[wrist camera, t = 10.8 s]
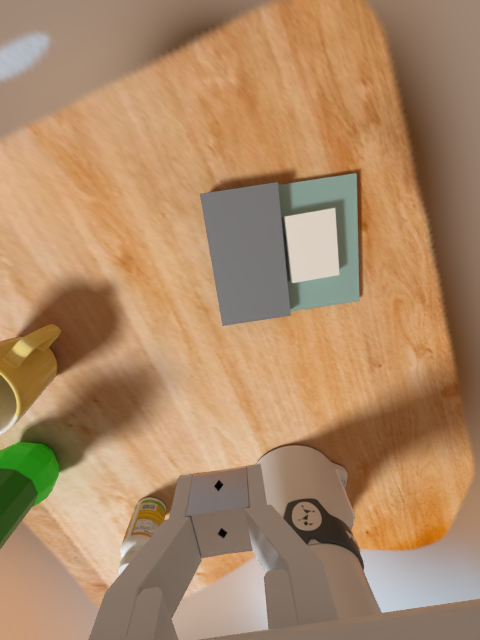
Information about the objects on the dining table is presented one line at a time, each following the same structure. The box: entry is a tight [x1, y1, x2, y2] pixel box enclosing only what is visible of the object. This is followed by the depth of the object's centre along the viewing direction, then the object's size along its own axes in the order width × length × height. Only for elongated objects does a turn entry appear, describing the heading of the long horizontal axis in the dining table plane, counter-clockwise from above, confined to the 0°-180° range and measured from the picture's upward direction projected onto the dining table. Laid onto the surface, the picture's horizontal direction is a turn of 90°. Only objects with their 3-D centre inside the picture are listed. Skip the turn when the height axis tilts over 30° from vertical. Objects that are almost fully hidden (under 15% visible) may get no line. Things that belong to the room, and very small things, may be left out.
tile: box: [282, 208, 339, 283], centre depth 34 cm, size 8×6×2 cm
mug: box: [0, 324, 62, 434], centre depth 34 cm, size 14×10×10 cm
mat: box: [278, 173, 359, 311], centre depth 36 cm, size 16×10×1 cm, turn 8°
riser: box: [200, 182, 291, 326], centre depth 35 cm, size 16×9×3 cm, turn 8°
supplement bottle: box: [118, 497, 166, 575], centre depth 43 cm, size 5×5×10 cm
